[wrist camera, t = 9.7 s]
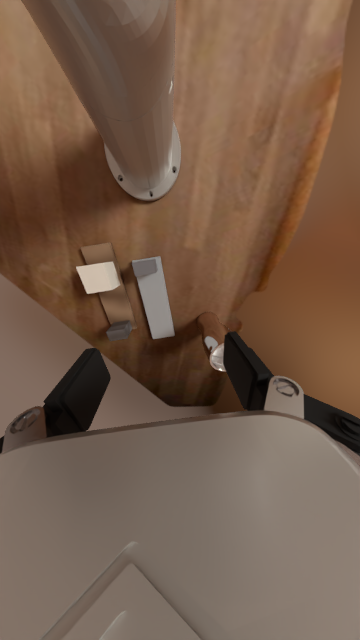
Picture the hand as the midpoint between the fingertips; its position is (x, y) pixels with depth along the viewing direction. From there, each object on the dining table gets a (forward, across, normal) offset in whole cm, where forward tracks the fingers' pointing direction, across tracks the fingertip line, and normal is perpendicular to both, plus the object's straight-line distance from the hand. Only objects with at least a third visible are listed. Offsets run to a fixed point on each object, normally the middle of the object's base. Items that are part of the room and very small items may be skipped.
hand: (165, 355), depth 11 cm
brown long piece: (+26, +13, +1) cm, 29 cm away
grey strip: (+26, +3, +5) cm, 27 cm away
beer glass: (+26, -10, +12) cm, 30 cm away
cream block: (+25, +13, -3) cm, 29 cm away
